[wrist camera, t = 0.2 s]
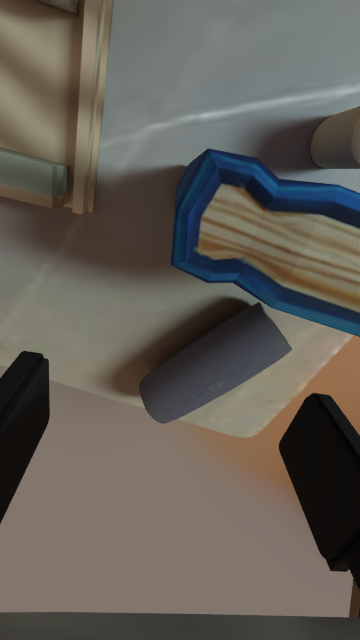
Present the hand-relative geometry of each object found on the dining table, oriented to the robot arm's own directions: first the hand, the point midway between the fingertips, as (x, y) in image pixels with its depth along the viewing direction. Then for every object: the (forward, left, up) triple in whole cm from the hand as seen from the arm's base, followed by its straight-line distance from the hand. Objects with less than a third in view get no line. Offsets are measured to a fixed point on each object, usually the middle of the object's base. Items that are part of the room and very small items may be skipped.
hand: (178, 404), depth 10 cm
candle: (-15, +17, -31) cm, 38 cm away
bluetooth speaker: (+17, +11, -31) cm, 37 cm away
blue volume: (-5, +10, -31) cm, 33 cm away
